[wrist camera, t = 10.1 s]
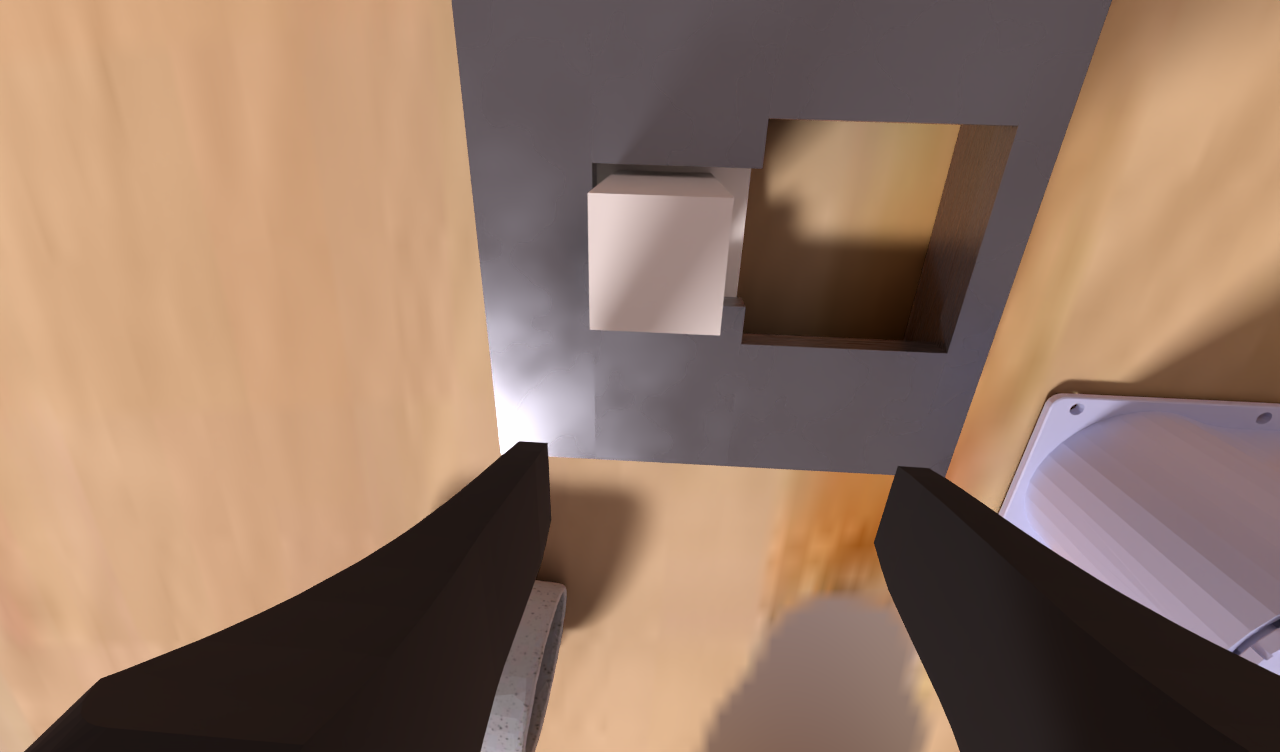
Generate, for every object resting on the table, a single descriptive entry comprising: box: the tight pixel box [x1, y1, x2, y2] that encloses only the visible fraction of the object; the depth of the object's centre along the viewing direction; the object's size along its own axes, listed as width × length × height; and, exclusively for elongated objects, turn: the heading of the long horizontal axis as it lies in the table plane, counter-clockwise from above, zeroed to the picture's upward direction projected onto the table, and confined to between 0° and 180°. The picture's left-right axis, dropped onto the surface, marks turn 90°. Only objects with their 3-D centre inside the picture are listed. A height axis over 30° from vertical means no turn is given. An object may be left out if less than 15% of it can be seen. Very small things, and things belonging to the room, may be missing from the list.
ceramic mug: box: [481, 580, 567, 752], centre depth 25 cm, size 11×8×8 cm
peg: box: [588, 163, 751, 336], centre depth 15 cm, size 6×6×8 cm
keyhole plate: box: [452, 0, 1112, 478], centre depth 17 cm, size 16×16×4 cm
